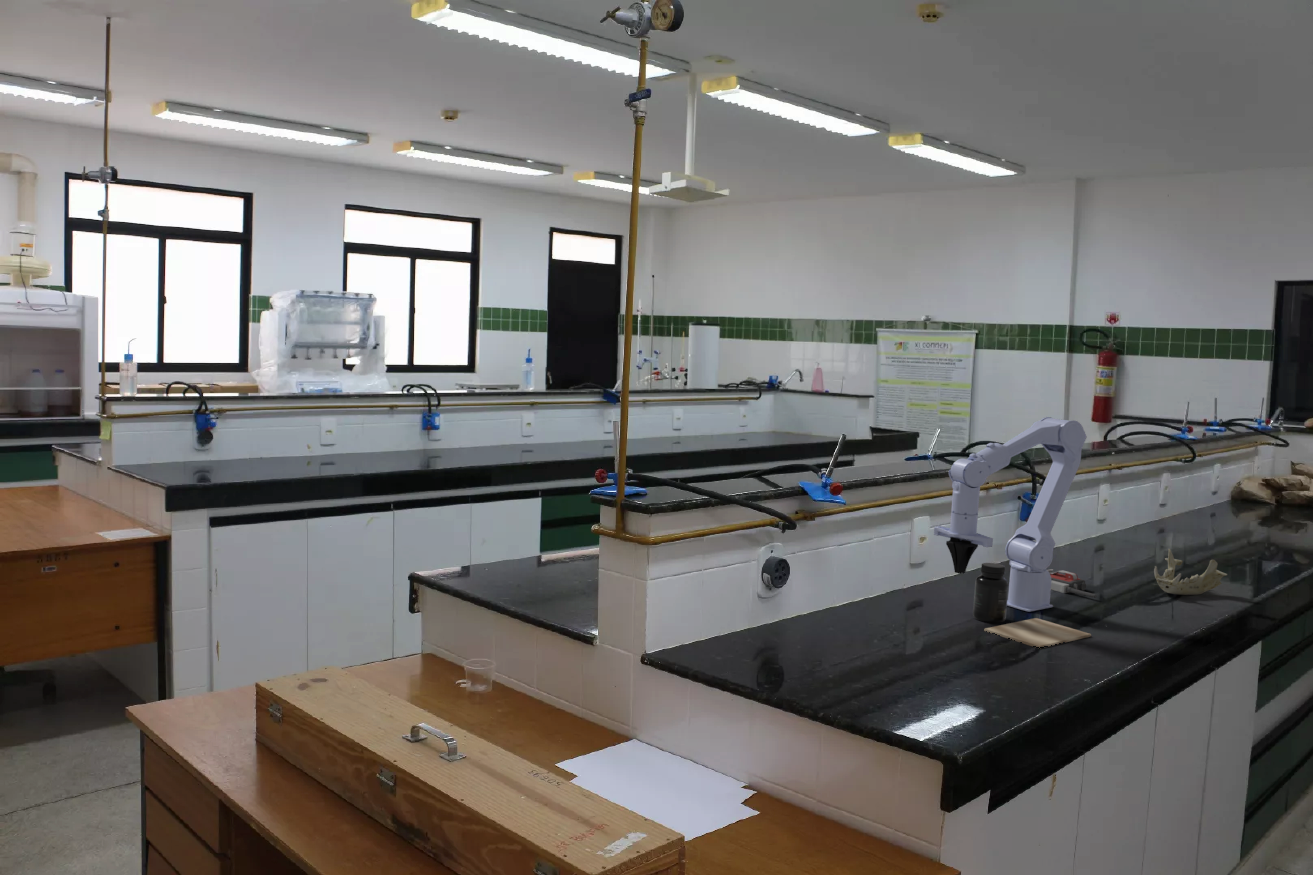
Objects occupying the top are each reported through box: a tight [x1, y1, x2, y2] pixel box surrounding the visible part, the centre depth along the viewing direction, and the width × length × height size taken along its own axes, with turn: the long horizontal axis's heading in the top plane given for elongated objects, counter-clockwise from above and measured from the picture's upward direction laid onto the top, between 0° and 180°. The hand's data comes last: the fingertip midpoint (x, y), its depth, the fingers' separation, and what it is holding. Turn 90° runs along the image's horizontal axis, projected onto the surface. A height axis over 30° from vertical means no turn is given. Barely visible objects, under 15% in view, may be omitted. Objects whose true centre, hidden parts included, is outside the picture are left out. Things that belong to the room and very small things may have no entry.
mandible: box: [1153, 548, 1228, 596], centre depth 248 cm, size 19×16×10 cm
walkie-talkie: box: [1046, 568, 1097, 599], centre depth 247 cm, size 9×4×20 cm
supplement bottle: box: [972, 562, 1009, 624], centre depth 215 cm, size 7×7×12 cm
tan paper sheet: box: [983, 617, 1092, 649], centre depth 206 cm, size 18×13×1 cm
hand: (959, 572), depth 222 cm, fingers closed
